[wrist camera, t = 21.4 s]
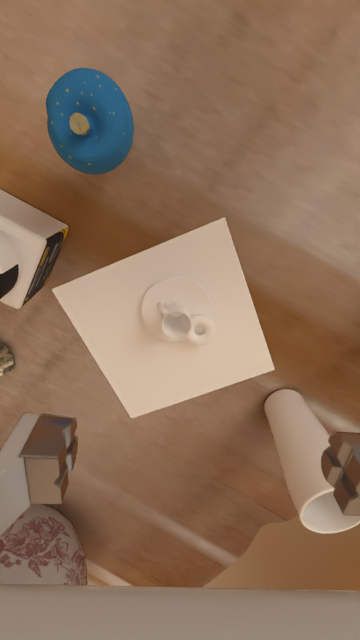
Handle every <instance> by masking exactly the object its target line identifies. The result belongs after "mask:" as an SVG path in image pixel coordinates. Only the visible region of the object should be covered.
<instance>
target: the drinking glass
mask: <svg viewBox="0 0 360 640" xmlns="http://www.w3.org/2000/svg"><path fill="white" fill-rule="evenodd" d="M264 411H265V414H266V417H267V420H268V422H269V426H270V429H271V433H272V437H273V440H274V444H275V448H276V451H277V455H278V459H279V462H280V466H281V470H282V473H283V477H284V480H285V483H286V486H287V489H288V492H289V495H290V497H291V500H292V502H293V505H294V507H295V510H296V512H297V514H298V516H299V519H300V521H301V523H302V524H303V525H304V526H305V527H306V528H307V529H309V530H311V531H314V532H317V533H325V534H328V533H337V532H342V531H345V530H348V529H350V528H352V527H354V526H356V525H358V524H359V523H360V516H349V515H343V513H342V511H341V509H340V507H339V505H338V503H337V501H336V499H335V497H334V496H333V492H334V487H333V486H331V485H330V484H329V483H328V482H327V481H326V479H325V477H324V475H323V473H322V469H321V456H322V454H323V451H324V450H325V449H326V448H328V447H329V446H330V444H329V442H328V439H329V437H330V435H329V433H328V432H327V431H326V429H325V428H324V427H323V425H322V424H321V423H320V421H319V420H318V419H317V417H316V416H315V415H314V413H313V412H312V411H311V409H310V408H309V406H308V405H307V403H306V401H305V400H304V398H303V397H302V395H301V394H300V393H298V392H297V391H294V390H291V389H282V390H278V391H276V392H274V393H272V394H271V395H270V396H269V397H268V398H267V400H266V401H265V404H264Z"/></svg>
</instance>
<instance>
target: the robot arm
mask: <svg viewBox="0 0 360 640" xmlns="http://www.w3.org/2000/svg"><path fill="white" fill-rule="evenodd" d="M76 428H77V418H76V417H75V416H63V415H51V414H35V413H24V414H23V415H22V416H21V417H20V419H19V420H18V422H17V424H16V425H15V427H14V429H13V430H12V432H11V434H10V435H9V437H8V439H7V440H6V442H5V444H4V445H3V447H2V449H1V450H0V536H1V535H2V534H3V533H4V532H5V531H6V530H7V529H8V528H9V527H10V526H11V525H12V524H13V523H14V522H15V521H16V520H17V519H18V518H19V517H20V516H21V515H22V514H23V513H24V512H25V511H26V510H27V509H28V508H29V507H30V504H62V501H63V498H64V495H65V492H66V489H67V486H68V473H69V472H70V471H71V470H73V467H74V463H75V460H76V454H77V447H78V437H77V436H76V435H75V431H76ZM328 442H329V444H330V446H329V447H328V448H326V449H325V450H324V451H323V454H322V456H321V469H322V473H323V475H324V477H325V479H326V481H327V482H328V483H329V484H330V485H331V486H333V487H334V492H333V496H334V497H335V499H336V501H337V503H338V505H339V507H340V509H341V511H342V513H343V515H349V516H360V433H351V432H333V433H332V434H330V437H329V439H328ZM0 640H360V591H349V590H348V591H347V590H300V589H298V590H296V589H249V588H196V587H145V586H95V585H45V584H0Z"/></svg>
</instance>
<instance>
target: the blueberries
mask: <svg viewBox="0 0 360 640" xmlns="http://www.w3.org/2000/svg"><path fill="white" fill-rule="evenodd" d="M7 351H9V350H8V347H5V346H2V345H0V376H3V373H2V372H5V371H8V370H9V371H11V369H12V368H14V367H13V366H14V362H13V361H14V359H13V357H12V354H9V353H7Z"/></svg>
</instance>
